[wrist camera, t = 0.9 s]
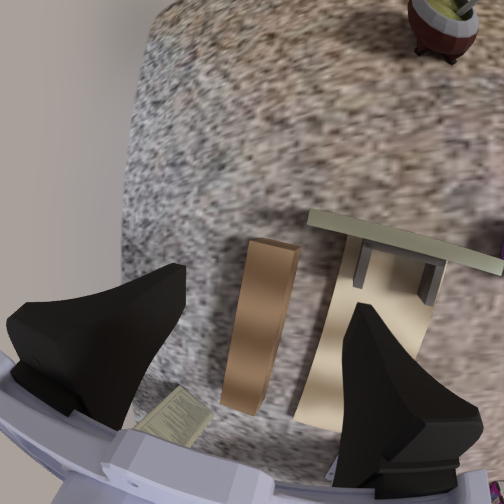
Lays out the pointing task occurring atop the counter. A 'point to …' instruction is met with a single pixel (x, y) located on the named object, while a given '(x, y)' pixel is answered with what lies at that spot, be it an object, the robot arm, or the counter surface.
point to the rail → (259, 322)
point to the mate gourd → (443, 26)
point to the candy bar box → (497, 492)
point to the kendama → (502, 252)
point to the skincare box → (177, 418)
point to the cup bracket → (377, 299)
